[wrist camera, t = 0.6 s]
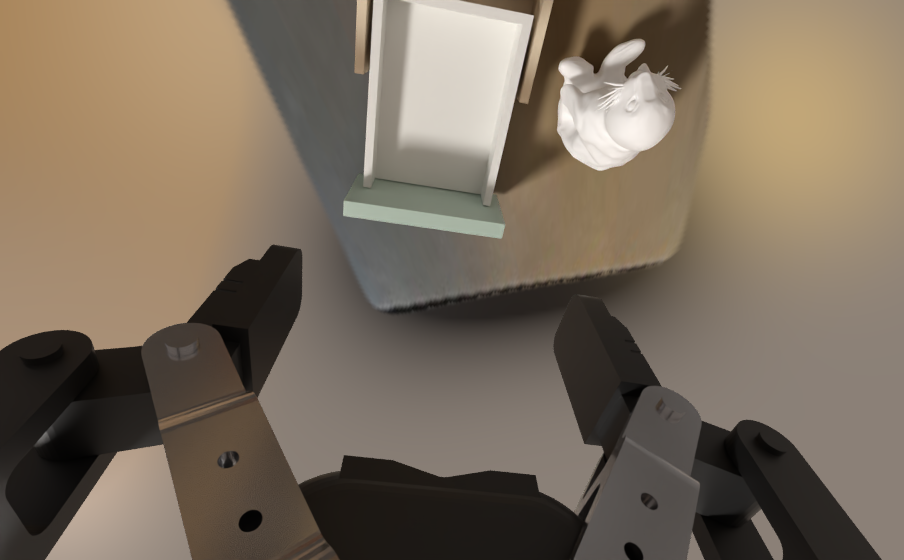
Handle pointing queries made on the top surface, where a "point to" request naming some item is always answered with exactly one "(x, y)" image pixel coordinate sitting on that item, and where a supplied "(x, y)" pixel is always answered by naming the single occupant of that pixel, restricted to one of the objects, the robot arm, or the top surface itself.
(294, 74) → the top surface
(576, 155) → the white rounded figure
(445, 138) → the drawer
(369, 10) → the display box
